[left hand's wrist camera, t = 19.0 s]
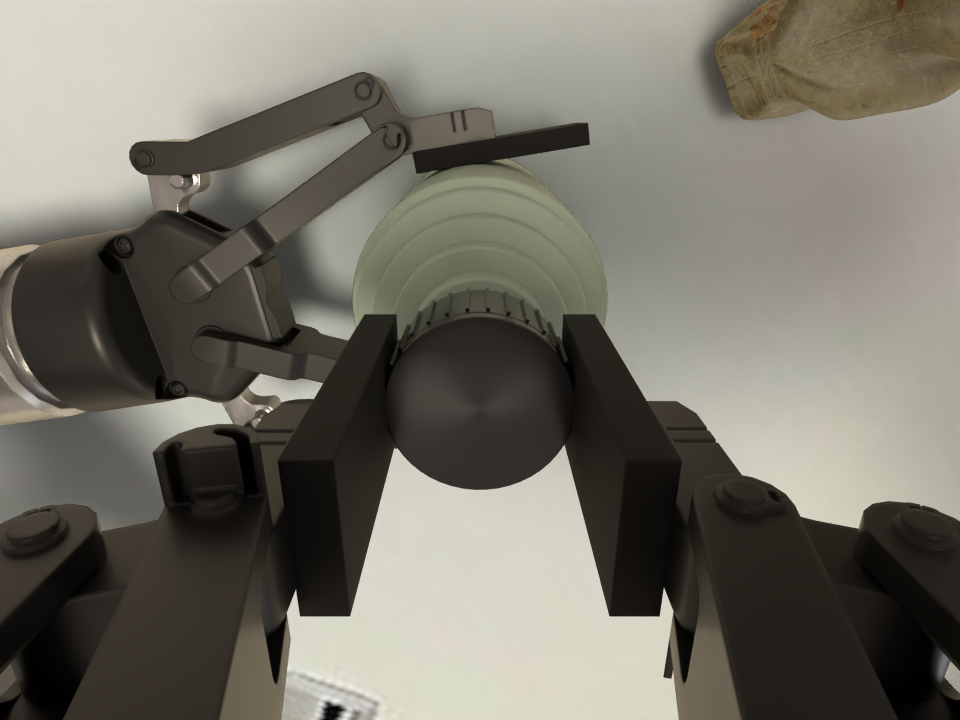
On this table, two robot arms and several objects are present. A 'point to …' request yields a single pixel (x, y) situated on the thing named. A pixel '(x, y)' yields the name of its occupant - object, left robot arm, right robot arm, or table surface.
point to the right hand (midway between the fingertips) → (592, 246)
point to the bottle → (480, 247)
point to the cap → (479, 391)
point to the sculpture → (841, 57)
